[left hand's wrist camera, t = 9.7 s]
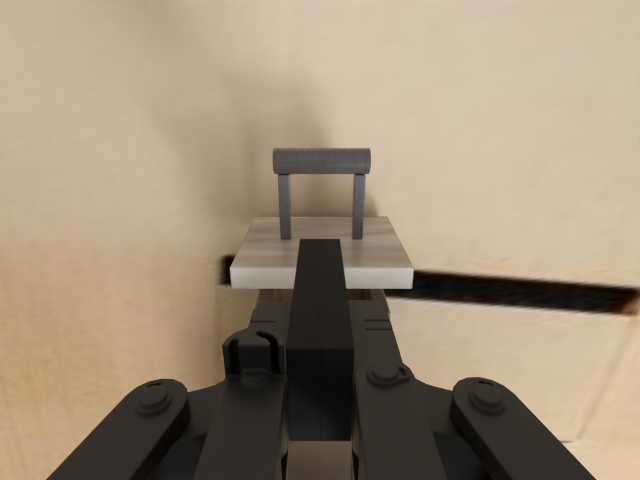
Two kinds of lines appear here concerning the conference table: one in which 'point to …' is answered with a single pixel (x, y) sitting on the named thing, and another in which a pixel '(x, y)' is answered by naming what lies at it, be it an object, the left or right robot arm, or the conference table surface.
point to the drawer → (322, 234)
